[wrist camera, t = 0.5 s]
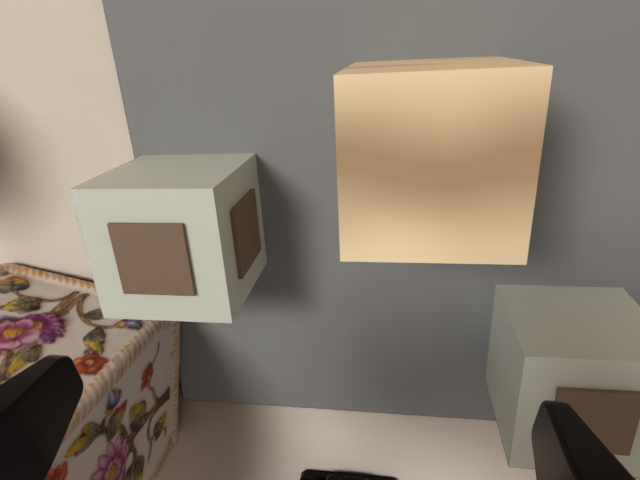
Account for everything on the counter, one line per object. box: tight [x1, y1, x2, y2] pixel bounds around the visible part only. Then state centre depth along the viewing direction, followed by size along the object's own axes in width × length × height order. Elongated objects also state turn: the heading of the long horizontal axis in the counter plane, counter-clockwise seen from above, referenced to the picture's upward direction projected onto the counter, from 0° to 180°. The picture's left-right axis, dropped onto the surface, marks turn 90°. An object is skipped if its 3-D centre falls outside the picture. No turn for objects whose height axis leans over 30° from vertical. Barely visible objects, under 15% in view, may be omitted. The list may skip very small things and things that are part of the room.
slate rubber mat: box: [102, 0, 640, 421], centre depth 24 cm, size 24×26×1 cm
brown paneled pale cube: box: [69, 153, 267, 323], centre depth 22 cm, size 6×6×6 cm
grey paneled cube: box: [485, 284, 640, 478], centre depth 22 cm, size 6×6×6 cm
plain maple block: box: [333, 56, 553, 265], centre depth 18 cm, size 6×6×8 cm
